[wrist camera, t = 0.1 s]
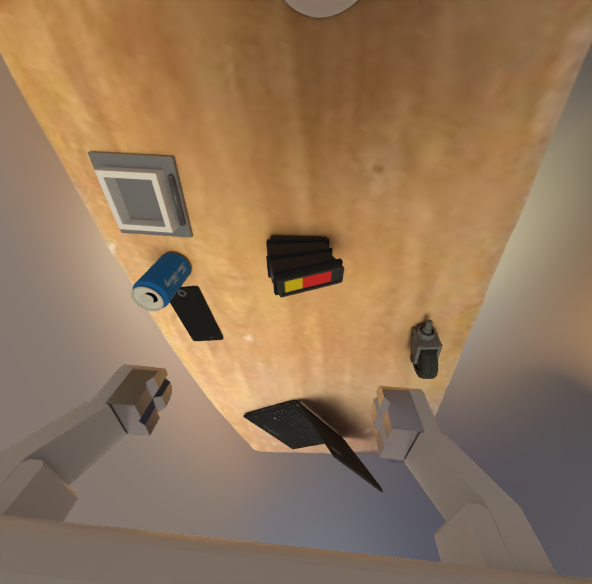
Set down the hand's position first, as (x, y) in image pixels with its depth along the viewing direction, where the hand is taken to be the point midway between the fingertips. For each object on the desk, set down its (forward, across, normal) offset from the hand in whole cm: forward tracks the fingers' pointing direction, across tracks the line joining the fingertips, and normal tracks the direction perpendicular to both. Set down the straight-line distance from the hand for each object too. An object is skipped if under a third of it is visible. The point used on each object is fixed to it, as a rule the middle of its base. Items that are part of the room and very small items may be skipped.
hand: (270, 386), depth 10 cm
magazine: (+40, 0, +10) cm, 41 cm away
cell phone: (+43, +26, +32) cm, 60 cm away
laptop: (+48, -6, +83) cm, 96 cm away
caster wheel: (+42, -30, +33) cm, 61 cm away
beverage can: (+41, +27, +17) cm, 52 cm away
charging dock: (+39, +29, +3) cm, 49 cm away
